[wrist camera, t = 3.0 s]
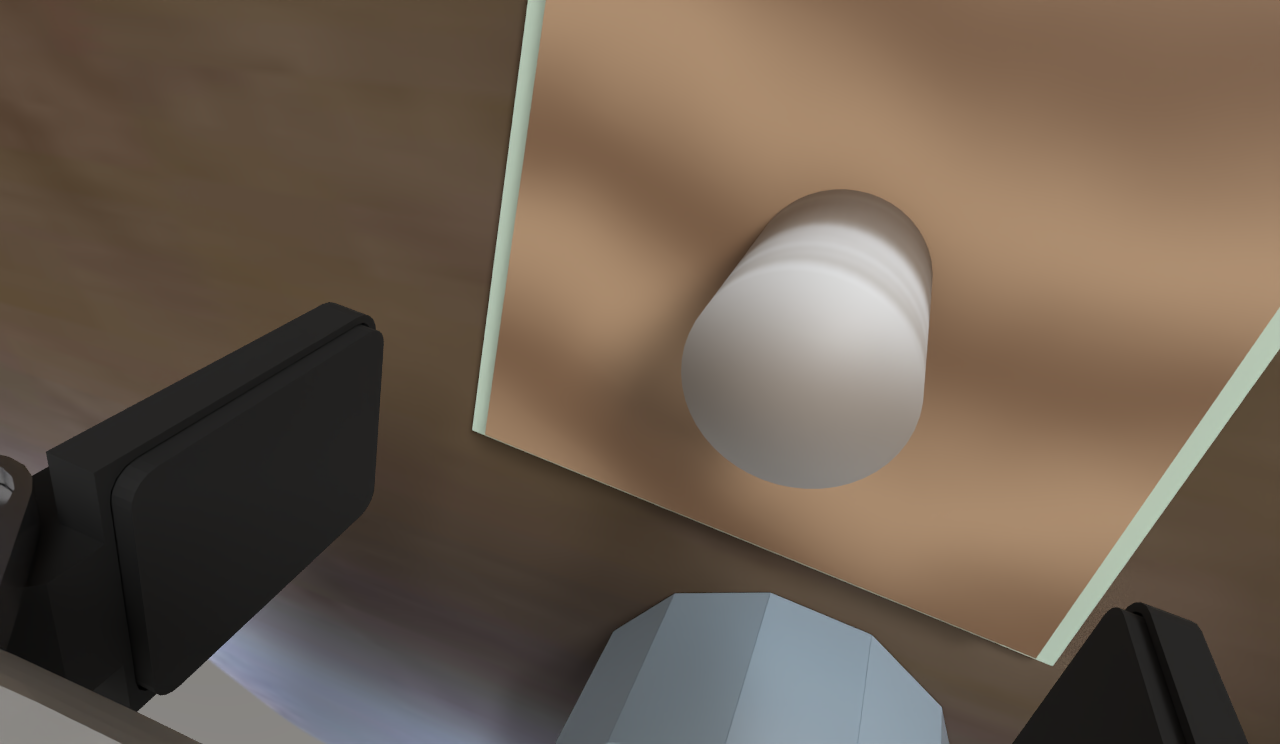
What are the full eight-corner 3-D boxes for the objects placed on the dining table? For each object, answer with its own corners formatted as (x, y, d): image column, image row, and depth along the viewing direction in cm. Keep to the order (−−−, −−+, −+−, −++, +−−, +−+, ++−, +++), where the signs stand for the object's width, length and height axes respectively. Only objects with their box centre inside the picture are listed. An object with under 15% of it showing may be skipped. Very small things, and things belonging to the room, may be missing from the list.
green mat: (576, -275, 17) (564, -283, 16) (1556, -70, 13) (1579, -72, 13) (481, 421, 26) (472, 430, 25) (1050, 650, 22) (1052, 666, 22)
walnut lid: (600, -213, 17) (412, -310, 11) (1463, -19, 14) (1838, -12, 8) (504, 415, 25) (366, 550, 19) (1032, 626, 22) (1059, 863, 16)
